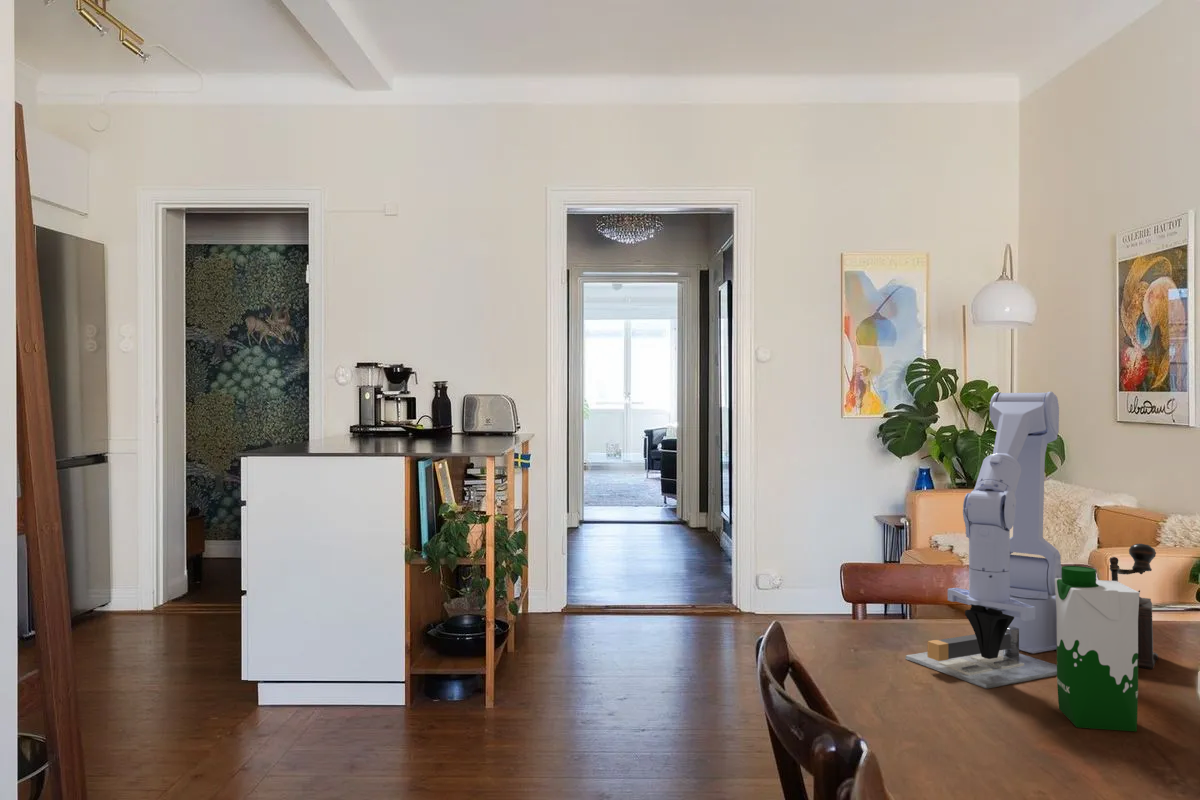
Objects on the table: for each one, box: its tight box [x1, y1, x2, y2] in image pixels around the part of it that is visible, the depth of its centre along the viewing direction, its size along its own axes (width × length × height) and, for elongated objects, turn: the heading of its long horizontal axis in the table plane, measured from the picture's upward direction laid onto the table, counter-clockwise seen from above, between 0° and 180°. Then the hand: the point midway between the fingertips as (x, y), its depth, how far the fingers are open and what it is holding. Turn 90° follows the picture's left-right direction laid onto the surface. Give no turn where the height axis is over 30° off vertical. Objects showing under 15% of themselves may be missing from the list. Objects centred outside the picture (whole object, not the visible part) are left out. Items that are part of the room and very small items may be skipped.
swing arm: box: [927, 633, 1010, 661], centre depth 135 cm, size 16×2×2 cm, turn 114°
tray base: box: [905, 626, 1057, 689], centre depth 135 cm, size 18×16×5 cm
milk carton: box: [1055, 565, 1141, 733], centre depth 112 cm, size 9×9×20 cm
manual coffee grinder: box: [1109, 543, 1159, 670], centre depth 142 cm, size 16×11×18 cm
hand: (989, 657), depth 130 cm, fingers closed
